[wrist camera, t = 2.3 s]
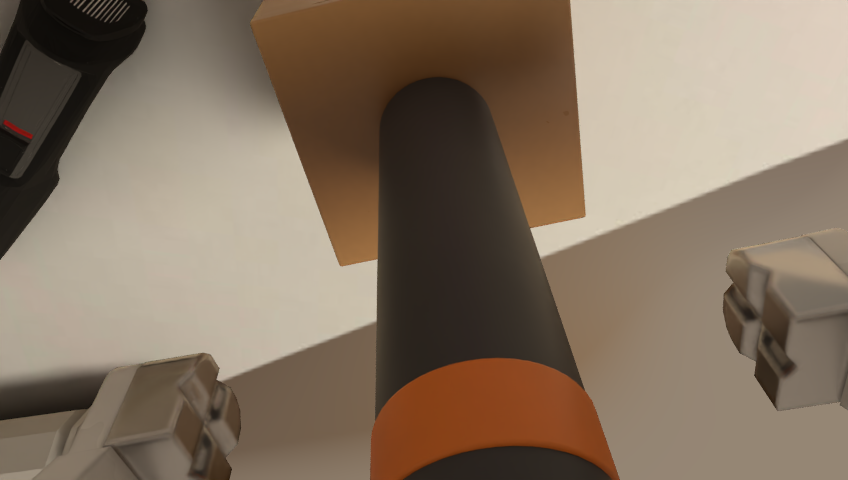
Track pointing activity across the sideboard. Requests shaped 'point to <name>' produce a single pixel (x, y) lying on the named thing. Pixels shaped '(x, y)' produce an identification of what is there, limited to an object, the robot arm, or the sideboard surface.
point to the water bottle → (36, 442)
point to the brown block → (409, 62)
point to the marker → (467, 310)
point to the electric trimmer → (53, 91)
